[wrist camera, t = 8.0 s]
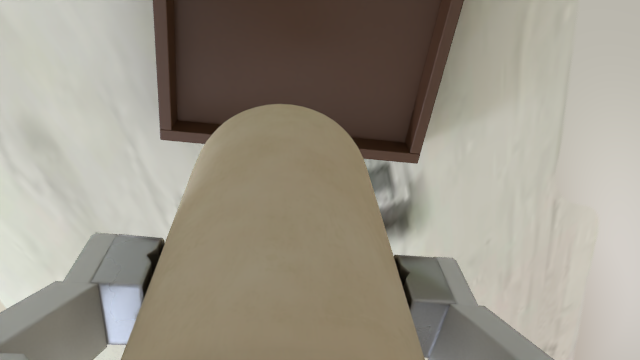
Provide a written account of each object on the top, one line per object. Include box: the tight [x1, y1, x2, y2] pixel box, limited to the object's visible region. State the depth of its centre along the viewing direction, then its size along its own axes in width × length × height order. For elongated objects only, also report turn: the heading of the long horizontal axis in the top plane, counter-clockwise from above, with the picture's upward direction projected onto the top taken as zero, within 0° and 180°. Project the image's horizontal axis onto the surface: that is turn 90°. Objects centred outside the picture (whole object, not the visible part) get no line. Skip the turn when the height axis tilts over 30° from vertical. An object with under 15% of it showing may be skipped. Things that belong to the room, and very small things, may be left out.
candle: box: [121, 104, 425, 360], centre depth 10 cm, size 6×6×10 cm
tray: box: [153, 0, 464, 163], centre depth 29 cm, size 15×19×3 cm
